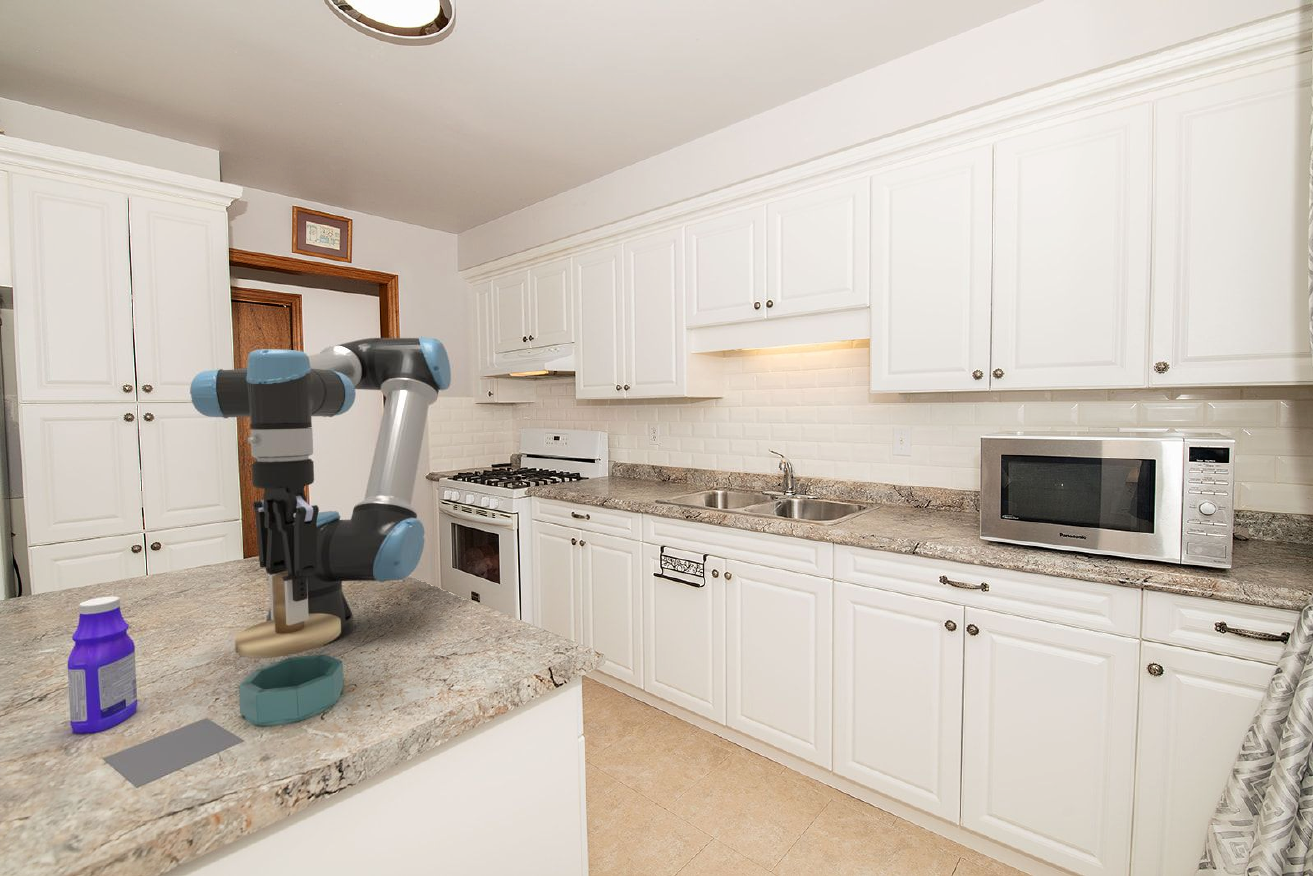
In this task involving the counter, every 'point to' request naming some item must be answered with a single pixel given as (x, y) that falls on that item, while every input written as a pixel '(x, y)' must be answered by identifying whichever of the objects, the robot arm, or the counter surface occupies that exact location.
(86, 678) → the bottle
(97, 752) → the counter surface
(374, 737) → the counter surface
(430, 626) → the counter surface
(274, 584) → the lid
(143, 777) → the mat
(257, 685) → the bowl
